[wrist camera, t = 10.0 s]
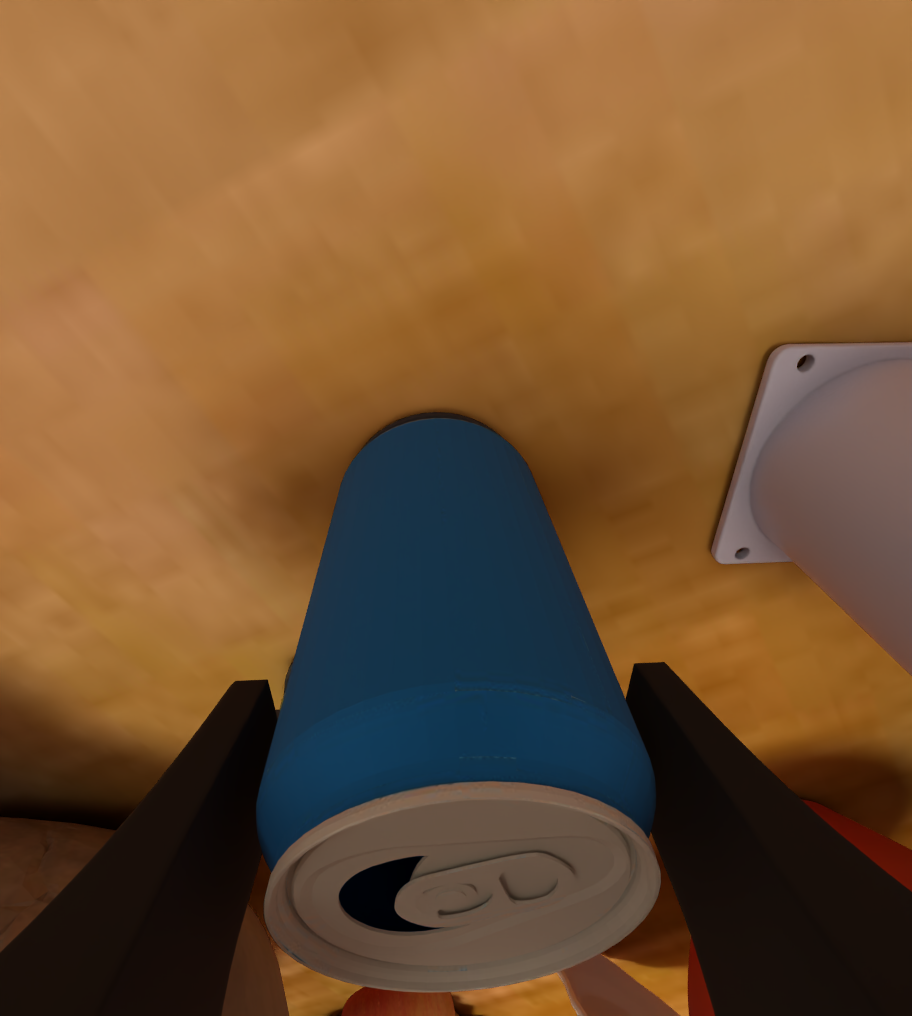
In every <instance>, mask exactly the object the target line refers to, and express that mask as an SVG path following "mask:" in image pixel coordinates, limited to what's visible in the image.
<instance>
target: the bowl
mask: <svg viewBox="0 0 912 1016" xmlns="http://www.w3.org/2000/svg"><path fill="white" fill-rule="evenodd" d="M115 831H116V830H110V829H104V828H99V827H93V826H87V825H81V824H75V823H66V822H55V821H44V820H33V819H25V818H8V817H0V952H1V951H2V950H3V949H4V948H5V947H6V946H7V945H8V944H9V943H10V942H11V941H12V940H13V939H14V938H15V937H16V936H17V935H18V934H19V933H20V932H21V931H22V930H23V929H24V928H25V927H26V926H27V925H28V924H29V923H30V922H31V921H32V920H33V919H34V918H35V917H36V916H37V915H38V914H39V913H40V912H41V911H42V910H43V909H44V908H45V907H46V906H47V905H48V904H49V903H50V902H51V901H52V900H53V899H54V898H55V897H56V896H57V895H58V894H59V893H60V892H61V891H62V890H63V889H64V888H65V886H66V885H67V884H68V883H69V882H70V881H71V880H72V879H73V878H74V877H75V876H76V875H77V874H78V873H79V872H80V871H81V869H82V868H83V867H84V866H85V865H86V864H87V863H88V862H89V861H90V860H91V859H92V857H93V856H94V855H95V854H96V853H97V852H98V851H99V850H100V849H101V847H102V846H103V845H104V844H105V843H106V842H107V841H108V839H109V838H110V837H111V836H112V835H113V834H114V832H115ZM221 1016H289V1012H288V1007H287V1002H286V997H285V992H284V987H283V982H282V977H281V973H280V968H279V964H278V960H277V957H276V955H275V953H274V950H273V948H272V945H271V943H270V940H269V938H268V935H267V933H266V931H265V929H264V928H263V926H262V924H261V923H260V921H259V919H258V918H257V916H256V914H255V913H254V911H253V910H252V909H251V907H250V906H249V905H247V908H246V912H245V915H244V919H243V922H242V926H241V930H240V933H239V937H238V941H237V945H236V949H235V953H234V957H233V961H232V965H231V969H230V974H229V979H228V984H227V989H226V994H225V999H224V1005H223V1010H222V1015H221Z"/></svg>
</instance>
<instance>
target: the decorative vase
mask: <svg viewBox="0 0 912 1016" xmlns="http://www.w3.org/2000/svg"><path fill="white" fill-rule="evenodd" d="M802 801H803V802H804V803H806V804H807V805H808V806H809V807H810V808H811V809H812V810H813V811H814V812H815V813H817V814H818V815H819V816H820V817H821V818H822V819H823V820H825V821H826V822H827V823H828V824H829V825H830V826H831V827H833V828H834V829H835V830H836V831H837V832H838V833H840V834H841V835H842V836H843V837H844V838H846V839H847V840H848V841H849V842H850V843H852V844H853V845H854V846H855V847H857V848H858V849H859V850H860V851H861V852H863V853H864V854H865V855H866V856H867V857H869V858H870V859H871V860H872V861H874V862H875V863H876V864H877V865H878V866H880V867H881V868H882V869H883V870H885V871H886V872H887V873H888V874H890V875H891V876H892V877H893V878H895V879H896V880H897V881H899V882H900V883H901V884H902V885H904V886H905V887H906V888H908V889H909V890H910V891H911V892H912V850H911V849H909V848H907V847H905V846H903V845H901V844H899V843H897V842H895V841H893V840H891V839H889V838H887V837H885V836H883V835H881V834H879V833H877V832H875V831H873V830H871V829H869V828H867V827H865V826H863V825H861V824H859V823H857V822H855V821H853V820H851V819H849V818H847V817H845V816H843V815H841V814H839V813H837V812H835V811H833V810H831V809H829V808H827V807H825V806H823V805H821V804H819V803H816V802H813V801H809V800H802ZM688 1007H689V1016H715V1014H714V1010H713V1007H712V1003H711V1000H710V997H709V993H708V990H707V987H706V983H705V980H704V977H703V974H702V970H701V967H700V964H699V960H698V957H697V954H696V950H695V947H694V944H693V941H692V937H691V940H690V951H689V966H688Z"/></svg>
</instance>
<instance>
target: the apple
mask: <svg viewBox="0 0 912 1016" xmlns="http://www.w3.org/2000/svg"><path fill="white" fill-rule="evenodd" d="M341 1016H455V1010H454V1004H453V1000H452V996H451V993H450V992H403V991H393V990H383V989H377V988H371V987H363V988H362V989H360V990H358V991H357V992H355V993H354V994H353V995H352V996H351V997H350V998H349V999H348V1000H347V1002H346V1003H345V1005H344V1008H343V1011H342V1015H341Z"/></svg>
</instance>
